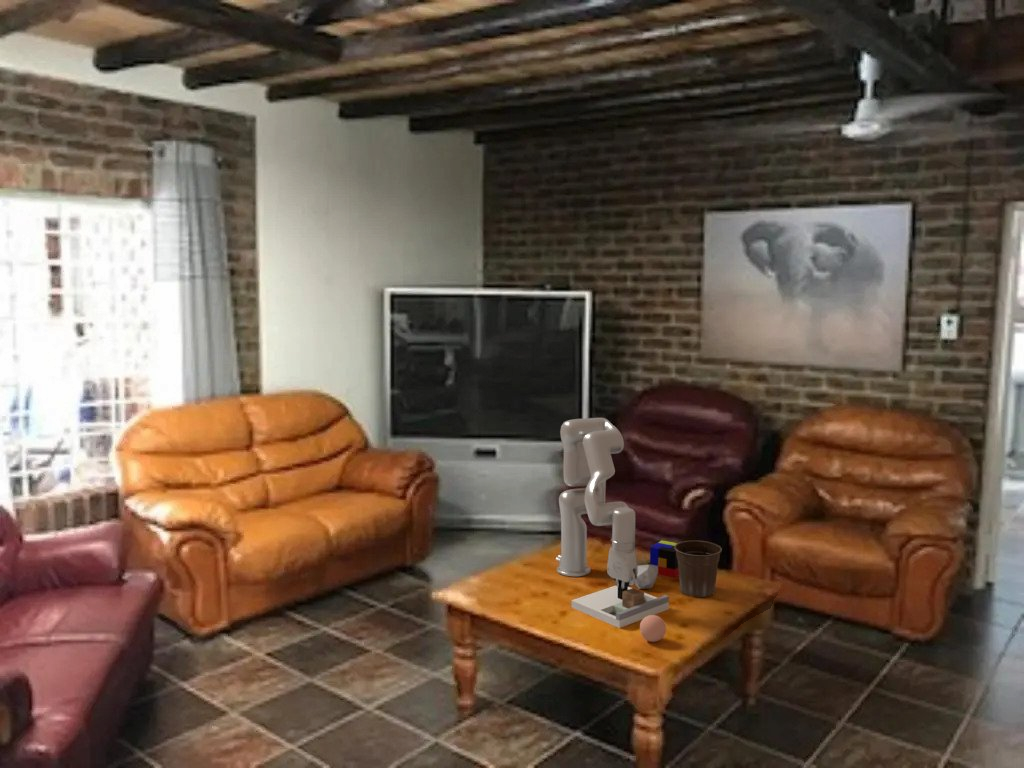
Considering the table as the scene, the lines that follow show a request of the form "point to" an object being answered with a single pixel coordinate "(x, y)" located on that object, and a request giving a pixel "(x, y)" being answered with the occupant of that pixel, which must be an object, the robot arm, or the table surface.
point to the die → (645, 577)
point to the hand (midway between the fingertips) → (622, 597)
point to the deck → (618, 607)
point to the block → (632, 598)
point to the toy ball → (652, 628)
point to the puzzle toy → (664, 559)
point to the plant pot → (697, 567)
